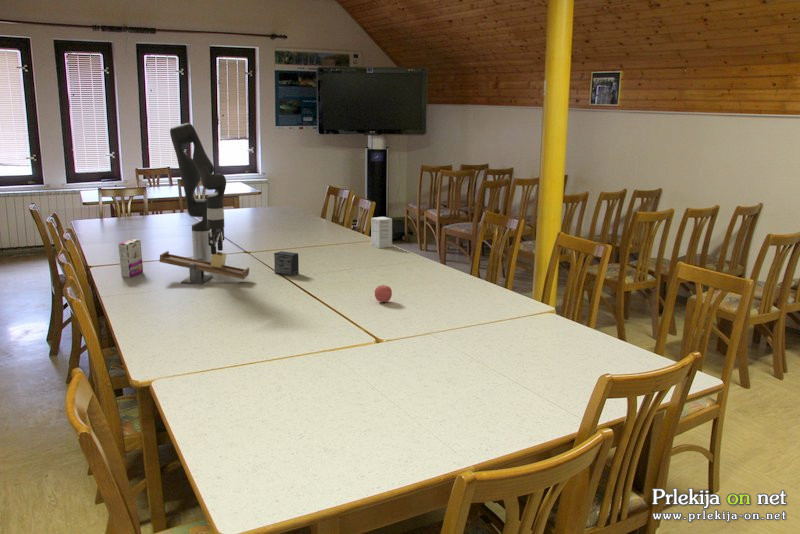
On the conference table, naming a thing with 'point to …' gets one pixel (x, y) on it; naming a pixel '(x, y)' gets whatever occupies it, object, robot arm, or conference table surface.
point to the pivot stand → (196, 276)
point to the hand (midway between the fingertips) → (217, 252)
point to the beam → (203, 265)
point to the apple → (383, 293)
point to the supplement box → (381, 232)
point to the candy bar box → (130, 258)
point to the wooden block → (218, 260)
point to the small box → (286, 263)
